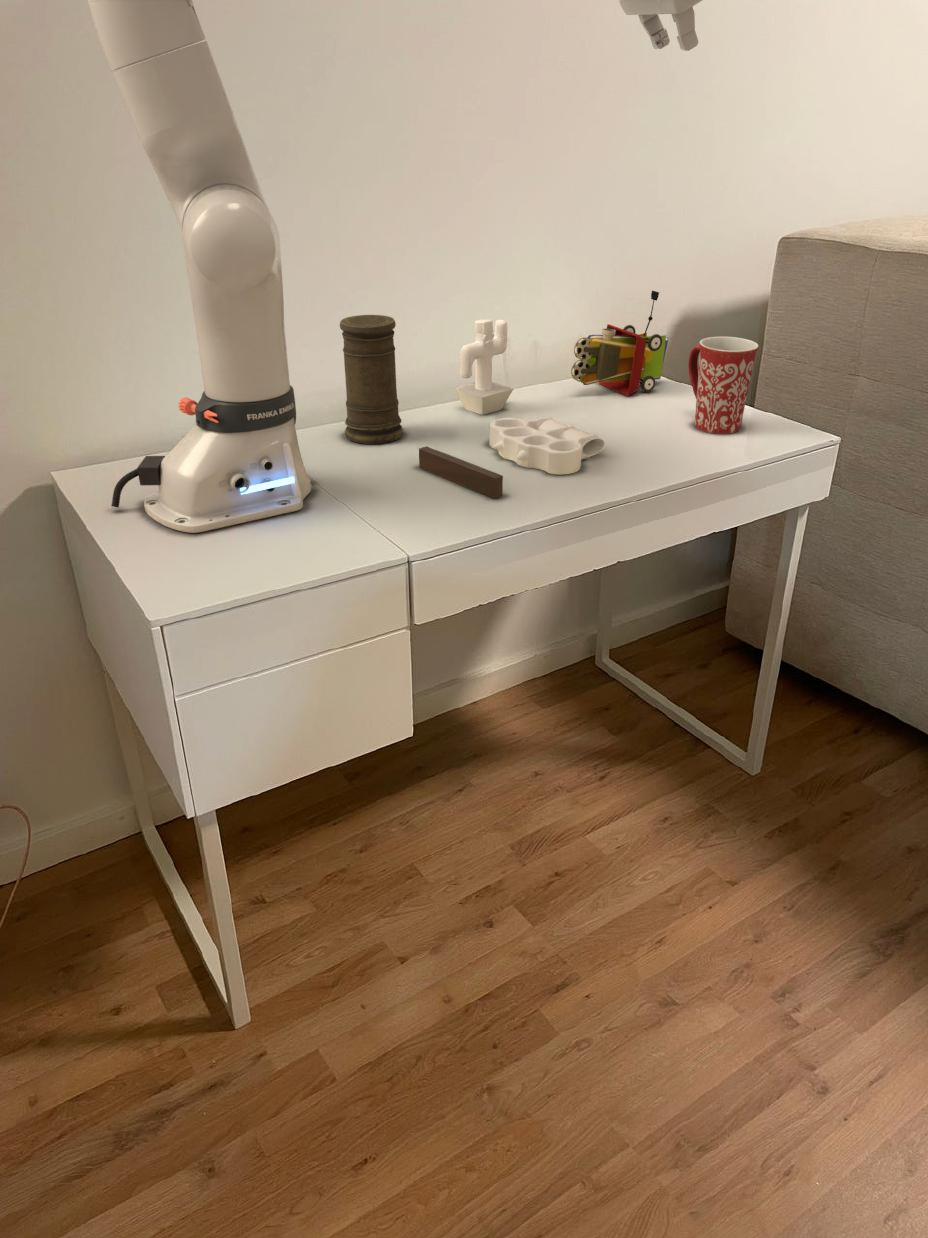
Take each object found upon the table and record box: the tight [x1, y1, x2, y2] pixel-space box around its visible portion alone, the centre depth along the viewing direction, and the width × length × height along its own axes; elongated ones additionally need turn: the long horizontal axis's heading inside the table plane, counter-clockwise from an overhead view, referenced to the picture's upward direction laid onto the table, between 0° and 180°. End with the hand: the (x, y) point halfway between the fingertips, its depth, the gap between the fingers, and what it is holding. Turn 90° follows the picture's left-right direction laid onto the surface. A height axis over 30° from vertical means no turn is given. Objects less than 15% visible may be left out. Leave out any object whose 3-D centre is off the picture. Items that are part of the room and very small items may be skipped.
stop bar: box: [418, 445, 504, 500], centre depth 136 cm, size 2×16×3 cm, turn 42°
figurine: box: [453, 318, 514, 416], centre depth 162 cm, size 7×9×15 cm
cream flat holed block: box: [488, 417, 606, 476], centre depth 146 cm, size 3×18×15 cm
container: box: [339, 314, 404, 445], centre depth 150 cm, size 9×9×18 cm
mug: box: [687, 336, 760, 435], centre depth 155 cm, size 13×9×14 cm
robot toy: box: [570, 290, 669, 397], centre depth 172 cm, size 17×9×20 cm
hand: (676, 47), depth 120 cm, fingers open, 8 cm apart
